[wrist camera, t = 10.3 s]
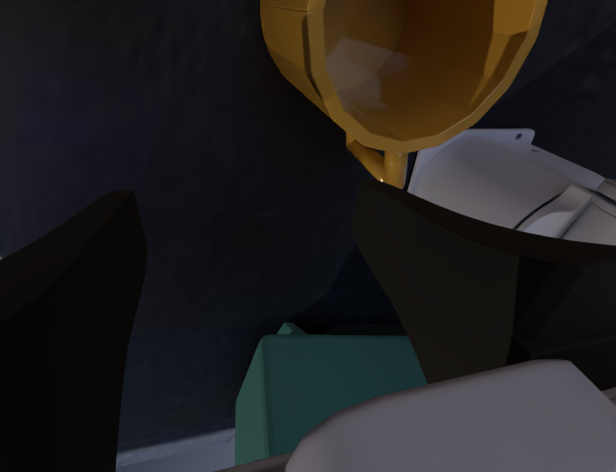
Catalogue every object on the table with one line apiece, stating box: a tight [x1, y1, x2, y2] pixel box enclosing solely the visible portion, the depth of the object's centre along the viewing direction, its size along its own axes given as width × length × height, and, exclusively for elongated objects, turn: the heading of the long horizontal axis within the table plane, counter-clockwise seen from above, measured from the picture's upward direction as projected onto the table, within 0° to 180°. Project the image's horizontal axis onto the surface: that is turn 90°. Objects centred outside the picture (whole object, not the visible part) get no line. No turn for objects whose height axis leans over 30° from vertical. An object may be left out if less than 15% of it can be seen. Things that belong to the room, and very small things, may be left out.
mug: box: [260, 0, 548, 189], centre depth 15 cm, size 11×8×9 cm
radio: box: [235, 323, 427, 466], centre depth 31 cm, size 34×10×15 cm, turn 70°
